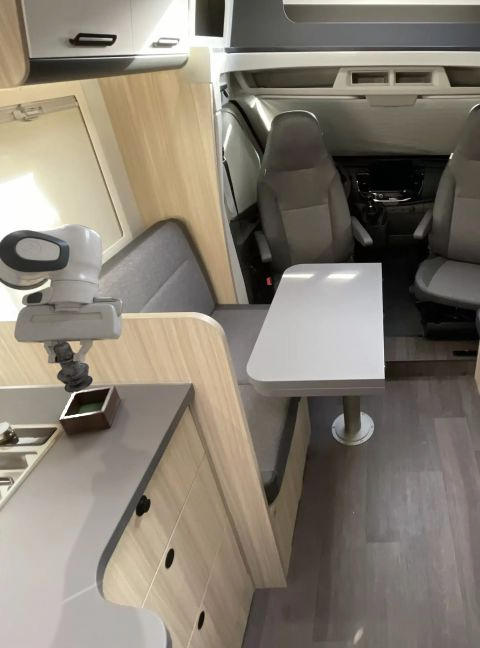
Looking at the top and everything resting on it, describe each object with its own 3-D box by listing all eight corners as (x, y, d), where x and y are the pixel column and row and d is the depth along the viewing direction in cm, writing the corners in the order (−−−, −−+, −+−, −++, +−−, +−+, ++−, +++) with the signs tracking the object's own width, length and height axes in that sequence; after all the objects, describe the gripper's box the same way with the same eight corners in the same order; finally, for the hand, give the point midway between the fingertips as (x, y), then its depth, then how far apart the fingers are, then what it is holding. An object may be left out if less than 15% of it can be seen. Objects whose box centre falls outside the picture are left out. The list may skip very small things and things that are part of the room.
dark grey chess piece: (95, 386, 96) (76, 342, 89) (63, 397, 93) (41, 352, 86) (93, 371, 100) (74, 328, 94) (62, 381, 97) (40, 337, 91)
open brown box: (66, 435, 97) (58, 419, 94) (80, 406, 104) (73, 391, 102) (110, 427, 99) (103, 412, 96) (121, 400, 106) (114, 385, 104)
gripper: (130, 299, 99) (125, 361, 96) (35, 303, 98) (26, 366, 95) (115, 293, 93) (109, 358, 90) (14, 296, 92) (3, 363, 89)
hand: (66, 362), depth 92 cm, fingers closed on dark grey chess piece, 3 cm apart
